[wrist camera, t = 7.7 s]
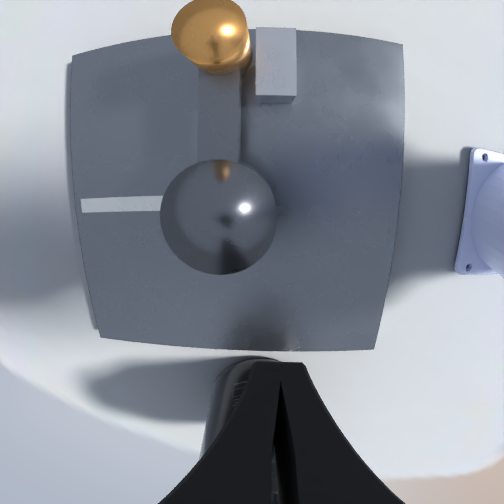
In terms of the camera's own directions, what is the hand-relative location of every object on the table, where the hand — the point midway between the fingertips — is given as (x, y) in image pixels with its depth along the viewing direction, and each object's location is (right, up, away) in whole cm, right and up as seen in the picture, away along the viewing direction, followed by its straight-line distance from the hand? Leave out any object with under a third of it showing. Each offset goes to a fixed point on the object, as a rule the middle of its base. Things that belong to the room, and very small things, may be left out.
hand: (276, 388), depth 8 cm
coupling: (-2, +8, +5) cm, 10 cm away
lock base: (-2, +7, +9) cm, 11 cm away
